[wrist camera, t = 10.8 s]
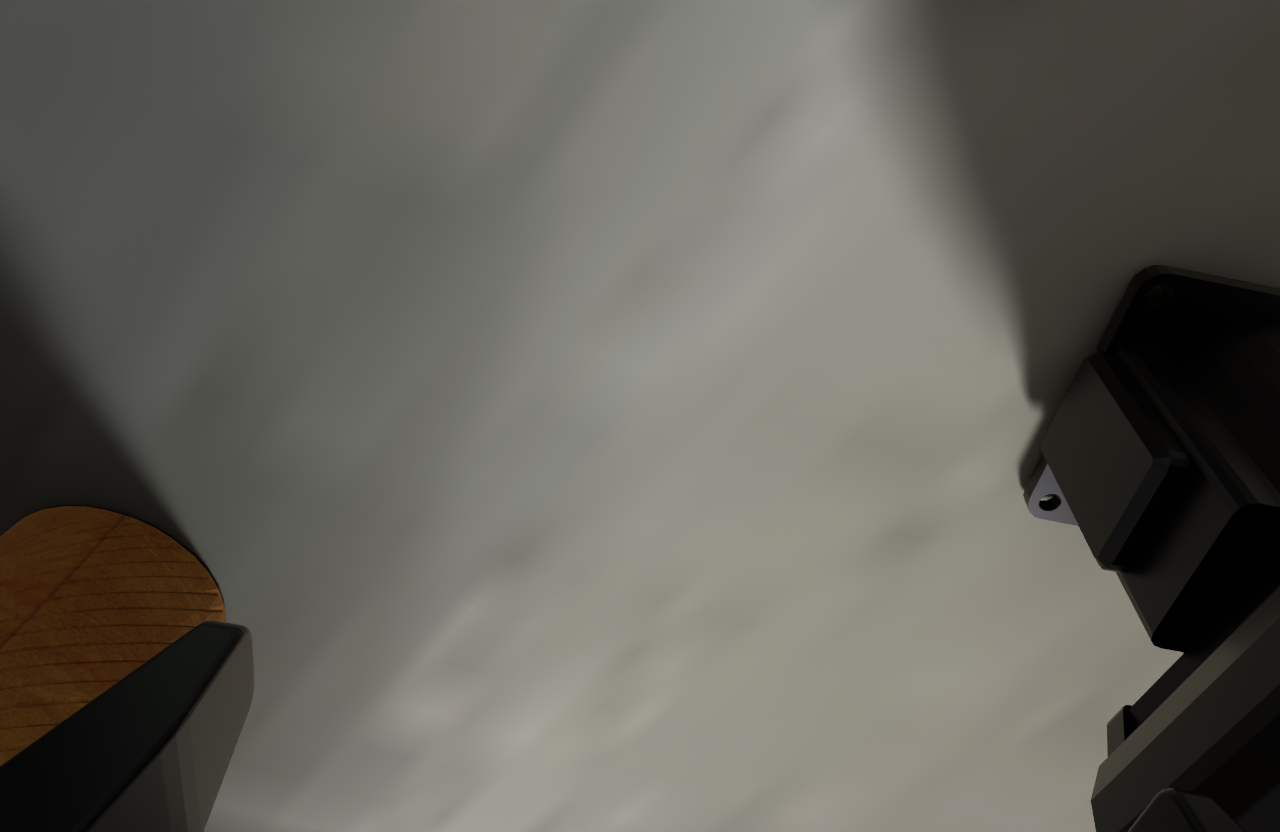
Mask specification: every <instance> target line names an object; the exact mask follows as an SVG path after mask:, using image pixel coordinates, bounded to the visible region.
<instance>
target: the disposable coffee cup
mask: <svg viewBox="0 0 1280 832" xmlns="http://www.w3.org/2000/svg"><path fill="white" fill-rule="evenodd" d="M205 621H219V622H226V619H225V608H224V603H223V600H222V597H221V595H220V592H219V589H218V587H217V586H216V584H215V582H214V581H213V579H212V577H211V576H210V574H209V572H208V571H207V570H206V569H205V568H204V567H203V566H202V564H201V563H200V562H199V561H198V560H197V559H196V558H195V556H193V555H192V554H191V553H190V552H188V551H187V550H186V549H185V548H183V547H182V546H181V545H180V544H179V543H177V542H176V541H175V540H174V539H172V538H171V537H169V536H167V535H166V534H164V533H163V532H161V531H159V530H158V529H156V528H154V527H152V526H150V525H148V524H146V523H143V522H141V521H139V520H137V519H135V518H132V517H129V516H125V515H122V514H118V513H115V512H112V511H108V510H104V509H98V508H92V507H84V506H62V507H55V508H49V509H43V510H41V511H38V512H35V513H33V514H30V515H28V516H26V517H24V518H23V519H22V520H20V521H19V522H18V523H16V524H15V525H14V526H12V527H11V528H10V529H9V530H7V531H6V532H5V533H4V534H3V535H1V536H0V766H1V765H3V764H4V763H5V762H7V761H8V760H9V759H11V758H12V757H14V756H15V755H16V754H18V753H19V752H21V751H22V750H23V749H25V748H26V747H28V746H29V745H30V744H32V743H33V742H35V741H36V740H37V739H39V738H40V737H42V736H43V735H44V734H46V733H47V732H49V731H50V730H51V729H53V728H54V727H56V726H57V725H58V724H60V723H61V722H63V721H64V720H65V719H67V718H68V717H70V716H71V715H72V714H74V713H75V712H77V711H78V710H79V709H81V708H82V707H84V706H85V705H86V704H88V703H89V702H91V701H92V700H93V699H95V698H96V697H98V696H99V695H100V694H102V693H103V692H105V691H106V690H107V689H109V688H110V687H112V686H113V685H114V684H116V683H117V682H119V681H120V680H121V679H123V678H124V677H126V676H127V675H128V674H130V673H131V672H133V671H134V670H135V669H137V668H138V667H140V666H141V665H142V664H144V663H145V662H147V661H148V660H149V659H151V658H152V657H154V656H155V655H156V654H158V653H159V652H161V651H162V650H163V649H165V648H166V647H168V646H169V645H170V644H172V643H173V642H175V641H176V640H177V639H179V638H180V637H182V636H183V635H184V634H186V633H187V632H188V631H190V630H191V629H193V628H194V627H195V626H197V625H199V624H200V623H203V622H205Z"/></svg>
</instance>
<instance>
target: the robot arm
mask: <svg viewBox="0 0 1280 832" xmlns="http://www.w3.org/2000/svg"><path fill="white" fill-rule="evenodd" d="M1161 284H1166V286H1165V290H1164V291H1163V292H1162V293H1161V294H1160V295H1159V296H1157V297H1155V298H1147V296H1148V293H1149V291H1150V290H1151V289H1152V288H1153V287H1155V286H1157V285H1161ZM1040 449H1041V451H1042V453H1043V454H1042V456H1041V458H1040V460H1039V462H1038V464H1037V466H1036V468H1035V470H1034V472H1033V474H1032V476H1031V478H1030V480H1029V482H1028V484H1027V486H1026V488H1025V490H1024V494H1023V496H1024V499H1025V502H1026V504H1027V507H1028V509H1029V511H1030V512H1031V513H1032V514H1033V515H1034V516H1035V517H1038V518H1041V519H1045V520H1051V521H1056V522H1061V523H1066V524H1072V525H1077V526H1079V527H1080V529H1081V531H1082V533H1083V535H1084V537H1085V539H1086V541H1087V543H1088V545H1089V547H1090V549H1091V551H1092V553H1093V555H1094V557H1095V559H1096V561H1097V562H1098V564H1099V566H1100V567H1101V568H1102V569H1104V570H1109V571H1114V572H1116V573H1117V575H1118V577H1119V579H1120V581H1121V583H1122V585H1123V587H1124V589H1125V591H1126V593H1127V595H1128V596H1129V598H1130V600H1131V602H1132V604H1133V606H1134V608H1135V610H1136V612H1137V614H1138V616H1139V618H1140V620H1141V622H1142V624H1143V625H1144V627H1145V629H1146V631H1147V633H1148V635H1149V637H1150V639H1151V641H1152V643H1153V644H1154V645H1155V646H1157V647H1159V648H1163V649H1169V650H1174V651H1180V652H1183V653H1184V654H1183V655H1182V656H1181V657H1180V658H1179V659H1178V660H1177V661H1176V662H1175V663H1174V664H1173V665H1172V666H1171V667H1170V668H1169V669H1168V670H1167V671H1166V672H1165V673H1164V674H1163V675H1162V676H1161V677H1160V678H1159V679H1158V680H1157V681H1156V683H1155V684H1154V685H1153V686H1152V687H1151V688H1150V689H1149V690H1148V691H1147V692H1146V693H1145V694H1144V695H1143V696H1142V697H1141V698H1140V699H1139V700H1138V701H1137V702H1136V703H1135V704H1134V705H1133V706H1130V705H1126V706H1124V707H1123V708H1122V709H1121V710H1120V711H1119V712H1118V713H1117V714H1116V715H1115V716H1114V717H1113V718H1112V719H1111V720H1110V721H1109V722H1108V724H1107V743H1108V758H1107V759H1106V760H1105V761H1104V762H1103V763H1102V764H1101V765H1100V766H1099V769H1098V773H1097V777H1096V782H1095V786H1094V790H1093V794H1092V798H1091V804H1092V810H1093V816H1094V821H1095V827H1096V832H1280V289H1277V288H1272V287H1267V286H1263V285H1258V284H1253V283H1248V282H1243V281H1238V280H1233V279H1228V278H1223V277H1218V276H1213V275H1208V274H1203V273H1198V272H1193V271H1188V270H1184V269H1179V268H1174V267H1169V266H1159V265H1154V266H1151V267H1148V268H1145V269H1143V270H1142V271H1140V272H1139V273H1137V274H1136V275H1135V276H1134V278H1133V279H1132V280H1131V282H1130V283H1129V285H1128V287H1127V289H1126V291H1125V293H1124V295H1123V297H1122V299H1121V301H1120V303H1119V305H1118V307H1117V309H1116V311H1115V313H1114V315H1113V317H1112V319H1111V321H1110V322H1109V324H1108V326H1107V328H1106V330H1105V332H1104V334H1103V336H1102V338H1101V340H1100V342H1099V344H1098V346H1097V348H1096V350H1095V351H1094V352H1092V353H1091V354H1090V355H1088V356H1087V357H1086V358H1084V360H1083V362H1082V364H1081V365H1080V367H1079V369H1078V371H1077V373H1076V375H1075V377H1074V379H1073V381H1072V383H1071V385H1070V387H1069V389H1068V391H1067V393H1066V395H1065V397H1064V399H1063V401H1062V403H1061V405H1060V407H1059V409H1058V411H1057V413H1056V415H1055V417H1054V419H1053V421H1052V423H1051V425H1050V427H1049V429H1048V431H1047V433H1046V435H1045V437H1044V439H1043V441H1042V443H1041V445H1040ZM1048 494H1055V495H1054V497H1053V498H1051V499H1049V500H1047V501H1040V499H1041V498H1042V497H1043V496H1046V495H1048ZM253 693H254V666H253V646H252V635H251V632H250V630H249V629H248V628H247V627H244V626H242V625H236V624H231V623H225V622H219V621H205V622H203V623H200V624H199V625H197V626H195V627H194V628H193V629H191V630H190V631H188V632H187V633H186V634H184V635H183V636H182V637H180V638H179V639H177V640H176V641H175V642H173V643H172V644H170V645H169V646H168V647H166V648H165V649H163V650H162V651H161V652H159V653H158V654H156V655H155V656H154V657H152V658H151V659H149V660H148V661H147V662H145V663H144V664H142V665H141V666H140V667H138V668H137V669H135V670H134V671H133V672H131V673H130V674H128V675H127V676H126V677H124V678H123V679H121V680H120V681H119V682H117V683H116V684H114V685H113V686H112V687H110V688H109V689H107V690H106V691H105V692H103V693H102V694H100V695H99V696H98V697H96V698H95V699H93V700H92V701H91V702H89V703H88V704H86V705H85V706H84V707H82V708H81V709H79V710H78V711H77V712H75V713H74V714H72V715H71V716H70V717H68V718H67V719H65V720H64V721H63V722H61V723H60V724H58V725H57V726H56V727H54V728H53V729H51V730H50V731H49V732H47V733H46V734H44V735H43V736H42V737H40V738H39V739H37V740H36V741H35V742H33V743H32V744H30V745H29V746H28V747H26V748H25V749H23V750H22V751H21V752H19V753H18V754H16V755H15V756H14V757H12V758H11V759H9V760H8V761H7V762H5V763H4V764H3V765H1V766H0V832H203V831H204V829H205V826H206V823H207V821H208V818H209V815H210V813H211V810H212V808H213V805H214V802H215V800H216V797H217V794H218V792H219V789H220V786H221V784H222V781H223V778H224V776H225V773H226V770H227V768H228V765H229V762H230V760H231V757H232V754H233V752H234V749H235V746H236V744H237V741H238V738H239V736H240V733H241V730H242V728H243V725H244V722H245V720H246V717H247V714H248V712H249V709H250V706H251V702H252V698H253Z"/></svg>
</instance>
